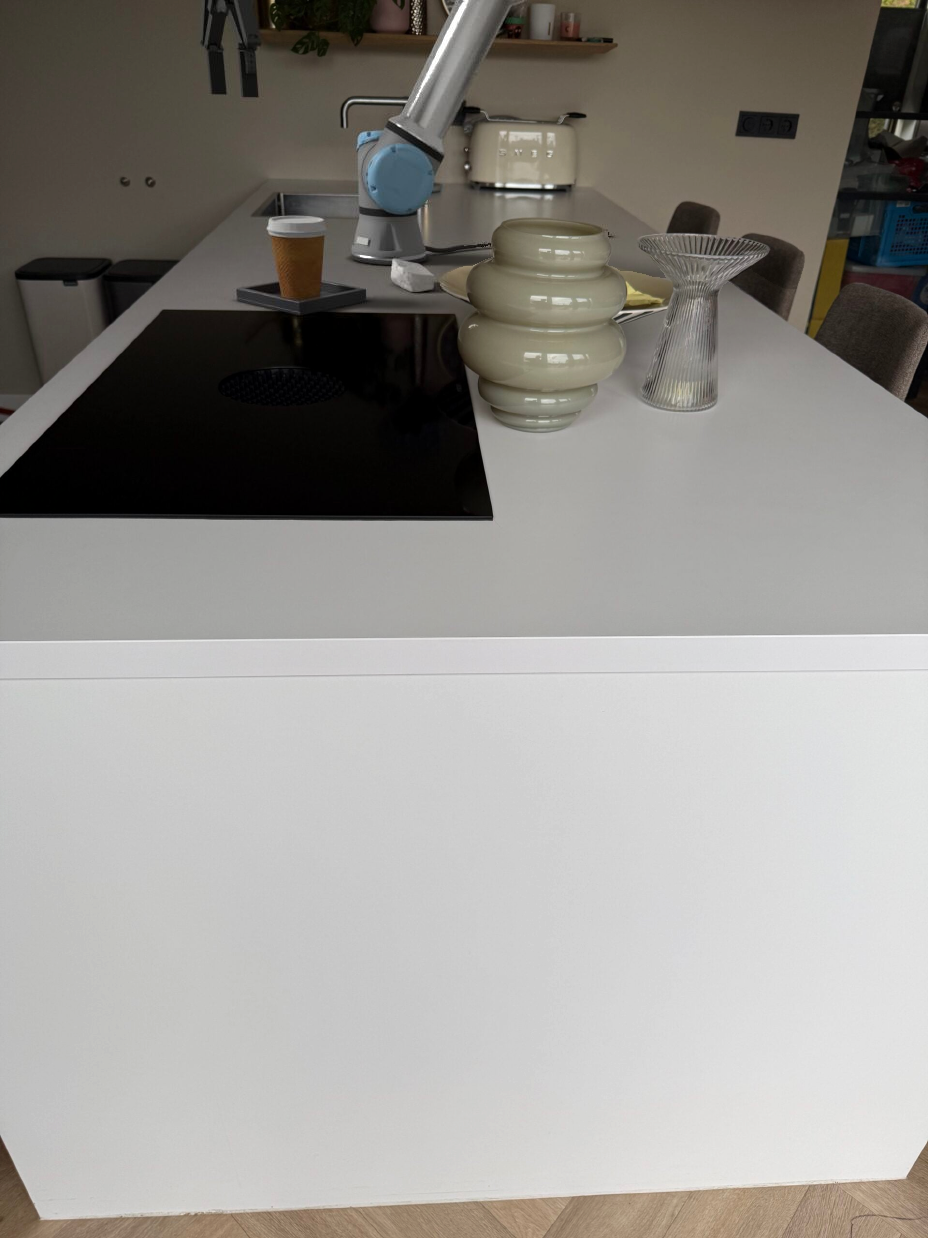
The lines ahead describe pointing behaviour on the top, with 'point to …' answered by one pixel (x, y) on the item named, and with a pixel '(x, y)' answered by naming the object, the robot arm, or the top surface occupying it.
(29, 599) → the top surface
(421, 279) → the white rock
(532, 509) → the top surface
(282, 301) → the pad
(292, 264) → the disposable coffee cup
